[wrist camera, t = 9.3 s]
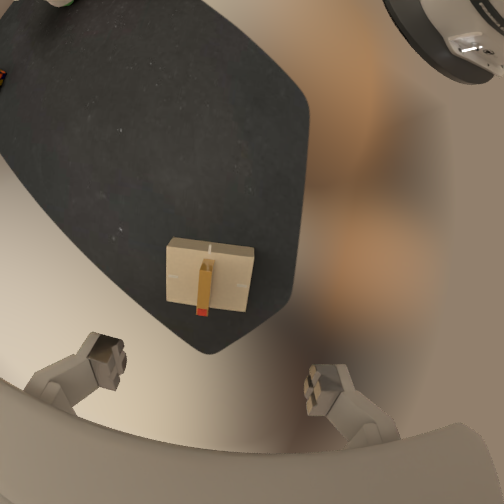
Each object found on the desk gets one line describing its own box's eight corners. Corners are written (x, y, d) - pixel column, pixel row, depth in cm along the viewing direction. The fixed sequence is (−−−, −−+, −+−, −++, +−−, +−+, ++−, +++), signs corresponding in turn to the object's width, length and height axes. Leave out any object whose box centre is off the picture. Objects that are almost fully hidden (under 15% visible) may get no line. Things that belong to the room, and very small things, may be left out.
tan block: (255, 240, 40) (255, 250, 36) (244, 304, 44) (244, 318, 41) (173, 230, 39) (166, 239, 36) (171, 294, 43) (166, 307, 40)
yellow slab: (203, 257, 37) (199, 270, 33) (215, 259, 37) (211, 272, 34) (199, 300, 40) (195, 315, 36) (210, 302, 40) (207, 317, 36)
